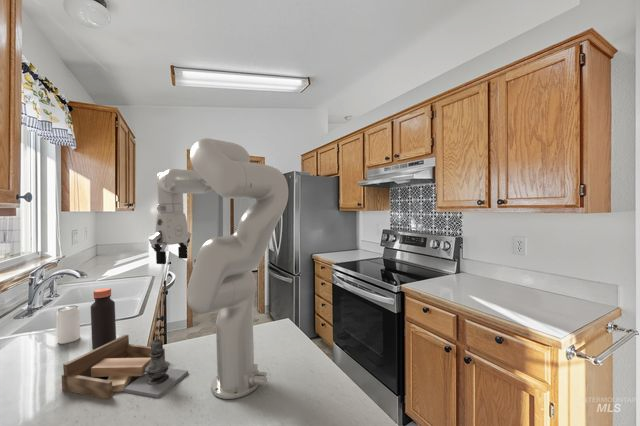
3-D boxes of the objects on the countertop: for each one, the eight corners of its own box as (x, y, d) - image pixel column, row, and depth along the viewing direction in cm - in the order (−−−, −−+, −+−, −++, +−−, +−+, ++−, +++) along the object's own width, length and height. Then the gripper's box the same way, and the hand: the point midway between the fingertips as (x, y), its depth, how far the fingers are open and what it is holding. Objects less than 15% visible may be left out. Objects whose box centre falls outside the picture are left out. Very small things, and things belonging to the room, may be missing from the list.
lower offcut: (138, 365, 91) (138, 357, 90) (124, 393, 77) (124, 383, 77) (120, 368, 89) (119, 360, 89) (102, 397, 76) (101, 387, 76)
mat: (188, 373, 84) (188, 370, 84) (158, 397, 74) (158, 394, 74) (156, 368, 87) (156, 366, 87) (123, 391, 77) (123, 388, 77)
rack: (165, 361, 91) (164, 339, 91) (108, 398, 74) (107, 371, 74) (124, 355, 96) (123, 334, 95) (62, 389, 78) (61, 364, 78)
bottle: (116, 347, 101) (114, 290, 101) (91, 353, 97) (89, 294, 97) (116, 340, 107) (114, 286, 106) (93, 345, 103) (90, 289, 102)
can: (77, 334, 112) (76, 303, 112) (83, 339, 108) (81, 307, 108) (55, 341, 107) (53, 308, 106) (60, 346, 103) (58, 312, 103)
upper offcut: (104, 366, 86) (104, 358, 86) (152, 366, 86) (151, 357, 86) (91, 376, 81) (90, 367, 81) (141, 375, 81) (141, 367, 81)
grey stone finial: (159, 387, 77) (157, 342, 77) (140, 384, 78) (138, 340, 78) (174, 374, 83) (173, 332, 82) (156, 372, 84) (155, 330, 84)
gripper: (159, 209, 87) (161, 266, 88) (197, 209, 104) (199, 256, 105) (139, 210, 89) (141, 265, 90) (180, 209, 106) (181, 256, 106)
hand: (172, 260), depth 97 cm, fingers open, 9 cm apart
